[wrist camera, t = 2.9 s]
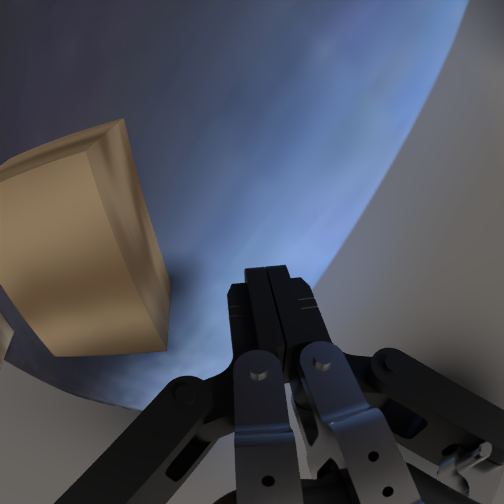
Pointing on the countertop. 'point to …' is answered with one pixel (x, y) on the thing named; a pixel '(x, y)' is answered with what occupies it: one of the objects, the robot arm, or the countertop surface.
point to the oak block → (83, 247)
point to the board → (4, 337)
